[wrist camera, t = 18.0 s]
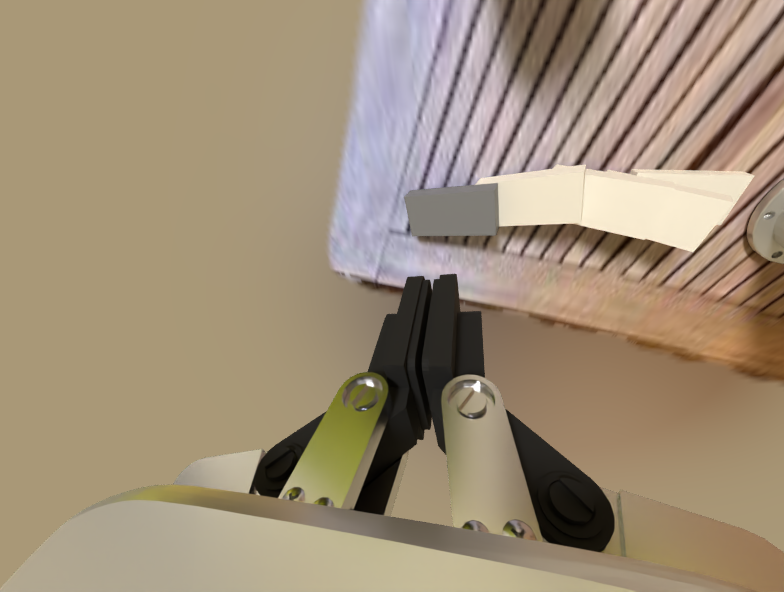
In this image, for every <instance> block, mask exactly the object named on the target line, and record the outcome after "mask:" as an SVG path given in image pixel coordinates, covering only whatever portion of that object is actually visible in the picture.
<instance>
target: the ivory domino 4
mask: <svg viewBox="0 0 784 592" xmlns="http://www.w3.org/2000/svg"><path fill="white" fill-rule="evenodd" d="M630 174H631V175H636V176H640V177H645V178H651V179H658V180H664V181H671V182H674V184H678V185H683V186H687V187H692V188H697V189H701V190H706V191H711V192H715V193H720V194H725V195H729V196H731V198H732V199H733V201H734V204H733V205H732V206H731V207H730V208H729V210H728V211H727V212H726V213H725V214H724V216H723V217H722V218H721V219H720V220H719V222H718V223H717V224H716V225H721V224H722V222H723V221H724V219H725V218H726V217H727V215H728V214H729V212H730V211H731V209H732V208H733V206H734V205H735V203H736V202H737V200H738V199H739V198H740V196H741V195H742V193H743V192H744V190H745V189H746V187H747V186H748V184H749V183H750V181H751V180H752V178H753V177H754V175H751V174H749V173H746V172H739V171H689V170H639V169H632V170H631V172H630Z"/></svg>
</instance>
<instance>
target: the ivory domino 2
mask: <svg viewBox="0 0 784 592" xmlns="http://www.w3.org/2000/svg"><path fill="white" fill-rule="evenodd" d="M563 167H570V166H564V165H557V164H556V166H555V167H554V168H553V169H555V168H563ZM674 189H675V186H674V182H671V181H664V180H658V179H651V178H644V177H638V176H631V175H624V174H617V173H611V172H604V171H597V170H591V169H586V170H585V185H584V200H583V214H582V219H581V223H571V224H576V225H580V226H585V227H589V228H594V229H598V230H602V231H607V232H611V233H616V234H620V235H625V236H629V237H633V238H638V239H642V240H645V238H646V237H647V235H648V233H649V232H650V230H651V228H652V226H653V225H654V223H655V221H656V220H657V218H658V216H659V214H660V213H661V211H662V209H663V208H664V206H665V204H666V202H667V201H668V199H669V197H670V196H671V194H672V192H673V190H674Z"/></svg>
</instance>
